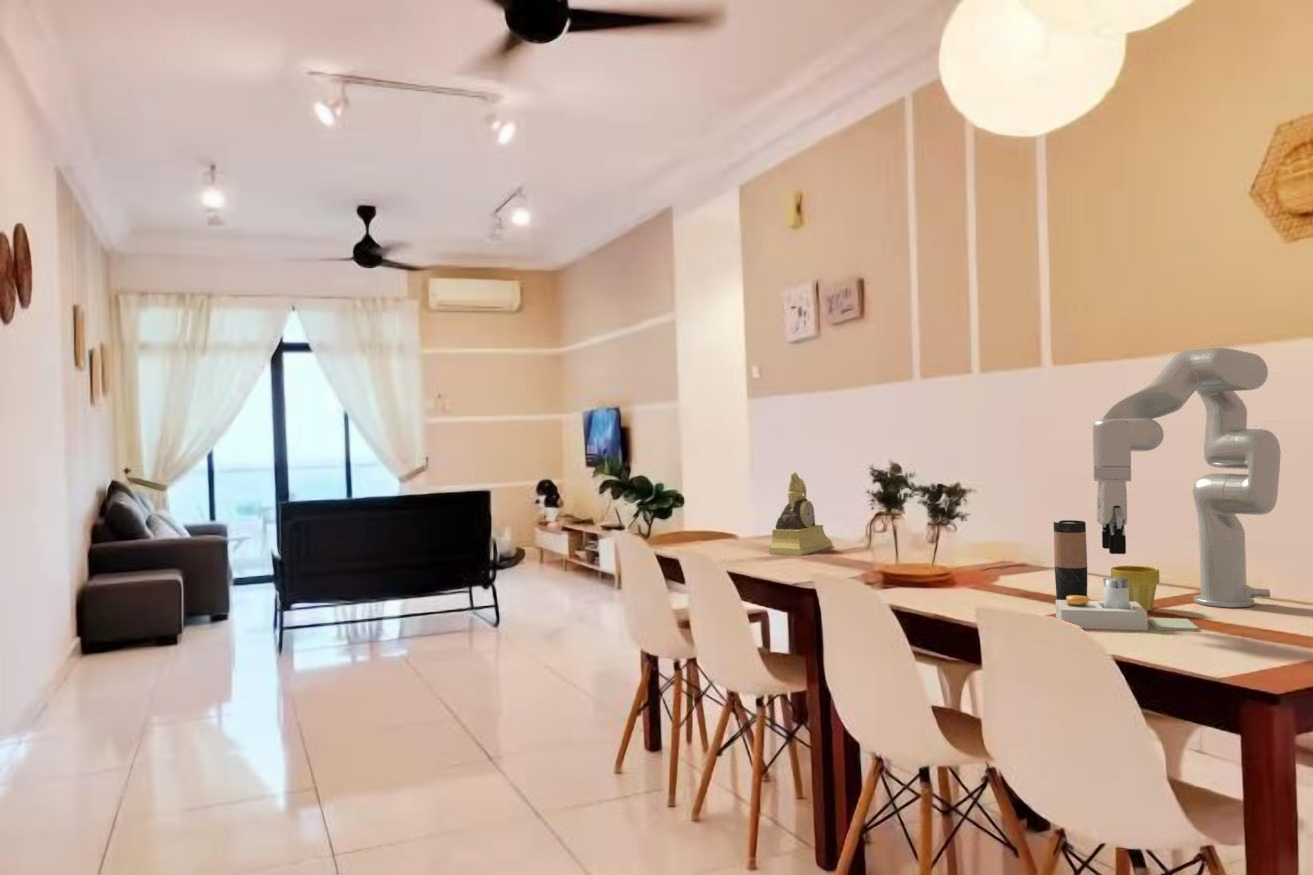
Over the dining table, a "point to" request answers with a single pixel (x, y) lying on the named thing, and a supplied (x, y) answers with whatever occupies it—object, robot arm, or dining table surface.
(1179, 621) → the mat
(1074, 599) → the plunger
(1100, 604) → the housing
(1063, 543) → the travel mug
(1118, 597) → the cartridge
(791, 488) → the decorative clock
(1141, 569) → the plant pot
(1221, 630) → the dining table surface
